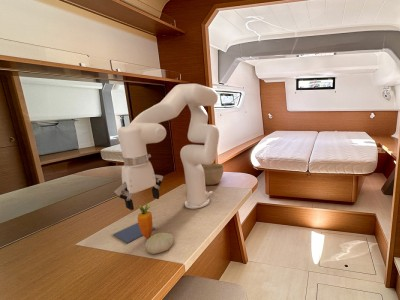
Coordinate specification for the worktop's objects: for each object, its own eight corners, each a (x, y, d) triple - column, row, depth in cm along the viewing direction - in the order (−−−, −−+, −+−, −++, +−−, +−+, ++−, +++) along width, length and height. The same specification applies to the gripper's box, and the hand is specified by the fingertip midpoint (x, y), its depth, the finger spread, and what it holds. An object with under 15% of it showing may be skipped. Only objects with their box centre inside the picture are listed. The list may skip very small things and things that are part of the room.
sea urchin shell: (158, 232, 86) (167, 222, 83) (171, 248, 85) (180, 238, 82) (137, 246, 78) (146, 236, 74) (151, 264, 77) (161, 254, 74)
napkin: (140, 222, 98) (140, 221, 97) (155, 229, 92) (155, 228, 92) (113, 234, 88) (113, 234, 88) (127, 243, 83) (127, 242, 83)
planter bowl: (208, 177, 155) (207, 162, 152) (228, 179, 150) (227, 164, 147) (194, 185, 140) (192, 169, 137) (216, 188, 135) (215, 171, 132)
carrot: (152, 234, 88) (147, 200, 85) (157, 238, 85) (152, 203, 82) (138, 240, 85) (133, 204, 81) (144, 245, 82) (138, 208, 78)
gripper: (153, 153, 87) (159, 192, 91) (103, 165, 73) (114, 211, 77) (164, 155, 83) (170, 196, 88) (114, 168, 69) (124, 216, 73)
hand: (144, 203), depth 82 cm, fingers open, 9 cm apart
